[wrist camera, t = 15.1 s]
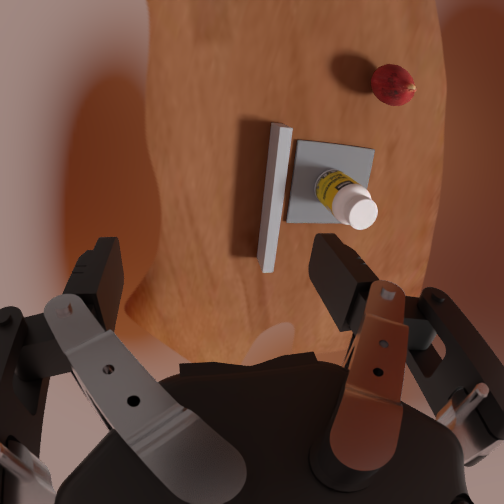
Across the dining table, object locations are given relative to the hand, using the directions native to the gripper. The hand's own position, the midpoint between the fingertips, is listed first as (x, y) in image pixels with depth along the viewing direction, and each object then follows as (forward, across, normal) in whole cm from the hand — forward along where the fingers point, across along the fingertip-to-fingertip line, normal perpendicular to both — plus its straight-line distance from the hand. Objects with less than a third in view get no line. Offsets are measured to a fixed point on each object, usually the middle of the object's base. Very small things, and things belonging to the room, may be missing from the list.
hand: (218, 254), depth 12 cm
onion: (+28, -24, -10) cm, 38 cm away
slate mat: (+28, -19, +6) cm, 34 cm away
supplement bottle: (+28, -19, +6) cm, 34 cm away
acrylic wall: (+28, -10, +8) cm, 31 cm away
